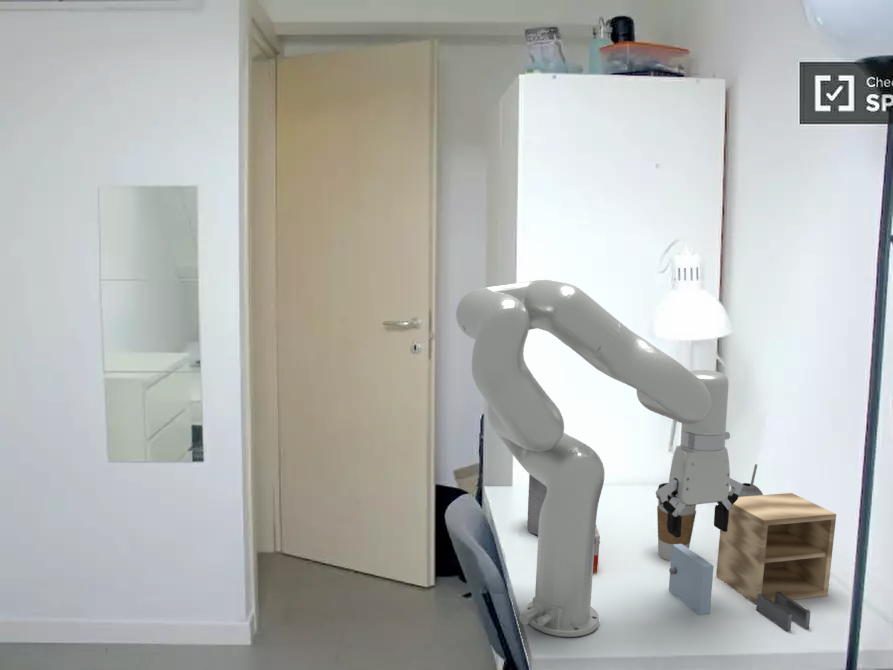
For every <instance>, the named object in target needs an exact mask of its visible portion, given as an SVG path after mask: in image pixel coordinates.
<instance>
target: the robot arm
mask: <svg viewBox="0 0 893 670" xmlns="http://www.w3.org/2000/svg"><path fill="white" fill-rule="evenodd" d="M455 311H456V312H455V318H456V322H457V324H458V327H459V328H460V330H461V332H463V333H464V334H465V335H466V336H468V337H469V338H471V339H474V345H473V349H472V355H471V374H472V377H473V378H472V379H473V381H474V383H475V386H476V387H477V389H478V391H479V392H480V394H481V396H482V397H483V399H485V401H486V402H487V403H488V404H487V405H488V406H487V417H488V421H489V424H490V426H491V429H492V430H493V431H494V432H495V434H496V435H497V437H498V438H499V439H500V440H501V442H502V443H503V444H504V445H505V447H506V448H507V449H508V450H509V451H510V453H511V455H512V456H514V458H515V460H516V461H517V462H518V463H519V464H520V466H521V467H522V468H523V469H524V470H525V471H526V472H527V474H528V475H529V474H530V475H531V476H533V477H534V478H535V479H537V480H538V481H539V482H541V483H542V484H543V485H545V486H546V487H547V493H546V497H545V499H544V502H543V504H542V507H541V511H540V516H539V529H538V531H539V533H538V538H537V550H536V551H537V554H536V571H535V572H536V573H535V589H534V590H535V591H534V592H535V593H534V597H532V601H530V602H529V603H528V604H527V605H526V607H525V611H523V612H521V613H520V614H519V616H518V618H519V622H520V623H521V624H522V625H525V626H527V625H530V626H532V628H534V629H536V630H537V631H539V632H542V633H544V634H547V635H551V636H556V637H564V638H565V637H566V638H567V637H568V638H569V637H571V638H574V637H575V638H576V637H581V636H582V637H583V636H586V635H588V634H591V633H592V632H594V631H595V630H596V629H597V628H598V627H599V622H600V617H599V613H598V612H597V610H596V609H595V608H594V607H592V606H591V605H592V604H591V603H592V588H593V587H592V586H593V574H594V573H593V561H594V546H595V528H596V526H597V516H598V515H597V514H598V509H599V508H598V507H599V503H600V498H601V494H602V492H603V488H604V483H605V474H606V473H605V467H604V463H603V461H602V459H601V458H600V456H599V454H598V453H597V452H596V451H595V450H594V449H593V448H592V447H591V446H589V445H587V444H586V443H584V442H582V441H581V440H579V439H577V438H575V437H573V436H571V435H569V434H567V433H565V422H564V417H563V416H562V413H561V411H560V409H559V407H558V406H557V405H556V403H555V402H554V401H553V400H552V398H551V397H550V396H549V395H548V393H546V391H545V390H544V389H543V387H542V385H541V384H540V383H539V381H537V379H536V378H535V377H534V375H533V373H532V372H531V370H530V369H529V367H528V366H527V364H526V362H525V358H524V357H525V356H524V349H525V344H526V340H527V337H528V335H529V331H530V330H536V329H538V330H542V331H546V332H548V333H550V334H551V335H553V336H554V337H555V338H557V339H558V340H559V341H561V343H562V344H564V345H565V346H567V347H569V348H570V349H571V350H572V351H574V352H575V353H576V354H578V356H580V357H581V358H582V359H583V360H585V361H586V362H588V363H589V364H590V365H591V366H592V367H593V368H595V369H596V370H597V371H599V372H601V373H603V374H604V375H606V376H608V377H609V378H612V379H614V380H616V381H618V382H620V383H622V384H625V385H627V386H629V387H631V388H633V389H635V390H636V397H637V400H638V401H639V403H640V404H641V405H642V406H643V407H644V408H645V409H647V410H649V411H651V412H653V413H655V414H657V415H661V416H663V417H666V418H668V419H671V420H672V421H673V420H674V421H675V422H678V423H681V427H680V428H681V430H680V444H679V445H676V446H675V448H674V449H675V450H674V452H673V456H672V460H671V464H670V465H671V466H670V472H669V479H668V482H667V483H668V484H666V485H664V486H663V487H661V488H660V489H658V488H657V490H656V491H655V495H656V496H657V497H656V499H657V501H658V500H659V501H660V505H661V506H662V507H663V508H664V509H665V510H666V511H667V512H668V518H667V529H668V532H669V533H670V534H672V535H673V536H675V537H676V538H679V537H680V536H681V522H682V517H681V516H680V515H679V514H680V512H681V511H682V510H683V508H684V507H685V506H686V505H696V506H697V505H703V504H714V503H717V505H714V515H713V527H715V528H716V529H718V530H719V531H720V530H722V531H723V532H727V529H728V520H729V510H731V509H732V508H733V506H732V505H733V504H734V503H735V502H736V501H737V499H738V495H739V494H740V492H741V490H742V488H743V484H742V483H741V482H739V481H737V480H736V479H733V478H731V475H730V473H731V471H730V470H731V469H730V458H729V453H728V448H727V447H726V446H725V445H726V440H729V439H730V438H731V434H730V432H729V431H727V429H726V428H727V416H728V415H727V413H728V397H729V378H728V376H726V374H724V373H722V372H719V371H716V370H709V369H696V370H692V371H690V370H689V369H688V368H686V367H685V366H684V365H683V364H681V363H680V362H678V361H677V360H675V358H673V357H672V356H669V355H668V354H667V353H665V352H663V351H662V350H661V349H659V348H657V347H656V346H654V345H653V344H651V343H650V342H649V341H647V340H646V339H644V337H641V336H640V335H638V334H637V333H635V331H632V330H630V329H629V327H627V326H626V325H624V324H623V323H622V322H620V321H619V320H618V319H617V318H616V317H614V315H612V314H611V313H609V312H608V310H606V309H605V308H604V307H602V305H600V304H599V303H598V302H596V301H595V300H594V299H593V298H592V297H590V296H589V295H588V294H587V293H585V292H584V291H583V290H582V289H580V288H579V287H577V286H575V285H573V284H570V283H567V282H561V281H557V280H556V281H555V280H549V279H538V280H529V281H523V282H517V283H509V284H502V285H494V286H493V285H492V286H486V287H485V286H484V287H478V288H475V289H472V290H470V291H469V292H467V293H466V294H465V295H463V296H462V298H461V299H460V301H459V302H458V304H457V306H456V310H455ZM668 495H669V496H670V497H672V498H671V500H670V501H668V498H667V496H668ZM677 503H678V504H677ZM676 504H677V505H676ZM675 505H676V506H675ZM674 507H675V508H674Z"/></svg>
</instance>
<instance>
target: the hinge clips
mask: <svg viewBox="0 0 893 670" xmlns="http://www.w3.org/2000/svg"><path fill="white" fill-rule="evenodd" d="M755 610H756V611H757V612H759V613H760V614H761V613H762V614H761V615H762V616H764V617H766V618H767V617H768V618H769V619H768V618H767V619H768V620H770V621H771V622H773V624H776V625H777V626H778V627H780V628H781V629H782V630H784V631H785V632H791V631H792V623H793V622H794V623H796V624H797V625H799V626H800V627H801V628H804V630H807V629H810V622H811V613H812V612H811V611H810V610H808V609H807V608H805V607H804V606H802V605H801V604H799V603H797V602H796V601H794V600H791V599H790V598H788V597H787V596H785V595H784V594H782V593H781V592H775V601H774V602H773V601H772V600H770V599H769V598H767V597H766V596H764V595H763V594H758V596H757V604H756V608H755ZM792 621H793V622H792Z"/></svg>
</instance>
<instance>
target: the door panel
mask: <svg viewBox="0 0 893 670" xmlns="http://www.w3.org/2000/svg"><path fill="white" fill-rule="evenodd" d="M668 572H669V579H668V583H669V584H668V591H669V592H670V593H671V594H673V595H674V596H675V597H677V598H678V599H679V600H680V601H682V602H683V603H684V604H685V605H687V607H689V608H690V609H692V610H693V611H695V613H697V615H699V616H701V615H710V612H711V599H712V588H713V580H714V578H713V576H714V565H713V564H712V563H710V562H709V561H708V560H706V559H704V558H703V557H702V556H700V555H699V554H698V553H696V552H694V550H692V549H690V547H689V548H687V547H686V546H684V545H683V544H673V545H672V554H671V561H670V567H669V571H668Z"/></svg>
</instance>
